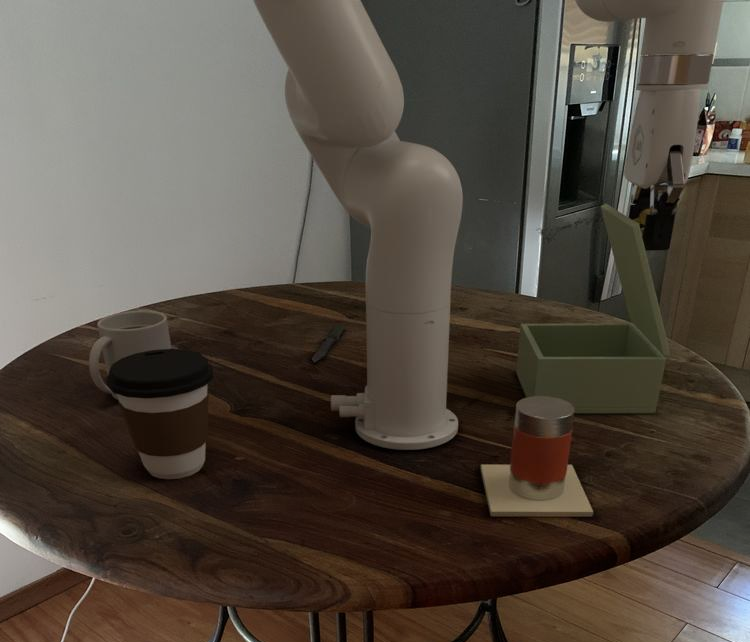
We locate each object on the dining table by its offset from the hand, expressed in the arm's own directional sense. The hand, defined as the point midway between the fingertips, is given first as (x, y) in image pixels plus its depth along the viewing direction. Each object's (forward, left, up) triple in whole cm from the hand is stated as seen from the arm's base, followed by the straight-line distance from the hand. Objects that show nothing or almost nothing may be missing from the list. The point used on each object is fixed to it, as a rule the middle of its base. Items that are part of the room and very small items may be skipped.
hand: (646, 242), depth 90 cm
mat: (-16, -28, -20) cm, 38 cm away
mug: (-66, 0, -20) cm, 69 cm away
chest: (-5, 0, -20) cm, 20 cm away
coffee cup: (-55, -22, -20) cm, 63 cm away
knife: (-41, +20, -20) cm, 50 cm away
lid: (-1, 0, -4) cm, 5 cm away
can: (-16, -28, -19) cm, 37 cm away
